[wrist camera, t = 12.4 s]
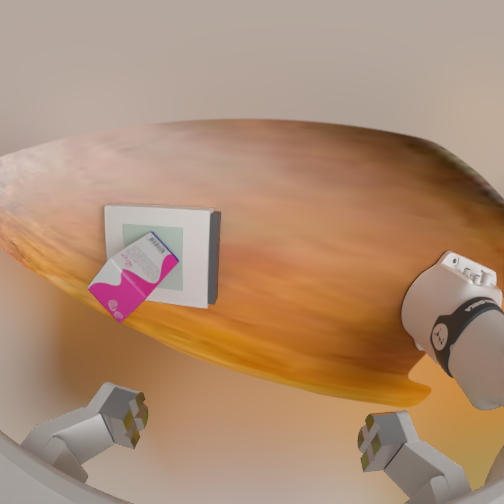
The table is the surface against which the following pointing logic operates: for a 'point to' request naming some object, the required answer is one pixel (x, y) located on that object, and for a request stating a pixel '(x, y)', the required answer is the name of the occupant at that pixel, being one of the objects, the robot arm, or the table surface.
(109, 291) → the supplement box
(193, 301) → the dock
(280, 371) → the table surface
